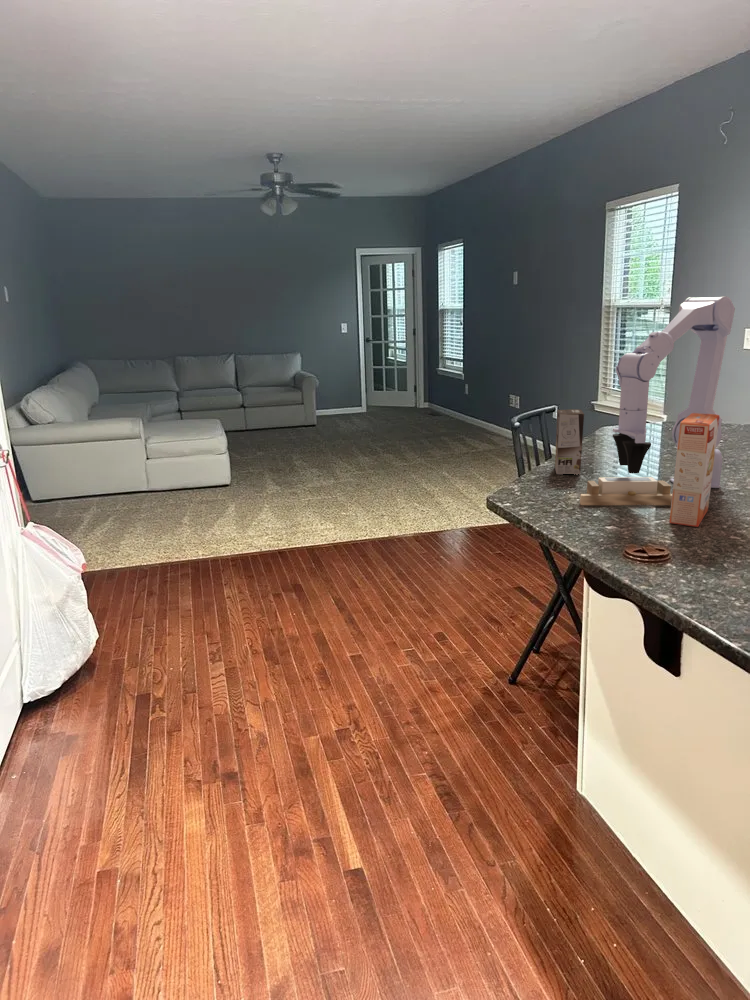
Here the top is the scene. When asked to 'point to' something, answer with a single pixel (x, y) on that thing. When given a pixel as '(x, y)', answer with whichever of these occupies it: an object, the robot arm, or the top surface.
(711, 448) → the cracker box
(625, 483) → the cream block
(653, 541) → the top surface
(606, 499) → the ledge
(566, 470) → the coffee box
